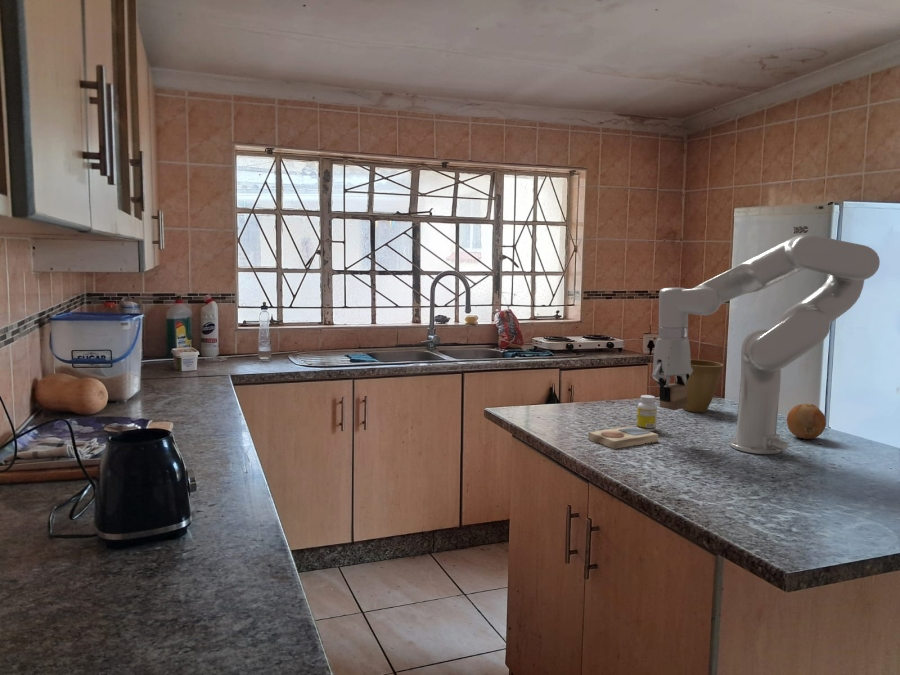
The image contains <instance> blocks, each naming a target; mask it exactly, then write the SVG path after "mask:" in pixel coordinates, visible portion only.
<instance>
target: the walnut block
mask: <svg viewBox="0 0 900 675" xmlns="http://www.w3.org/2000/svg"><path fill="white" fill-rule="evenodd" d="M668 387H670V402H665V401H660V400H659V408H662V409H663V408H664V409H666V410H672V411H677V410H684V409H683V408H687V386H685V385H680V384H675V383H669V386H668Z"/></svg>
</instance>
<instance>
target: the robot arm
mask: <svg viewBox="0 0 900 675" xmlns="http://www.w3.org/2000/svg"><path fill="white" fill-rule="evenodd" d="M880 263H881V261H880V257H879V255H878V253H877V251H875V249H873V248H871V247H870V246H867V245H864V244H859V243H854V242H848V241H843V240H839V239H834V238H830V237H825V236H821V235H817V234H811V233H809V234H799V235H797V236H793V237H791V238H789V239H787V240H784V241H783V242H781V243H779V244H777V245H775V246H773V247H771V248H769V249H767V250H766V251H763V252H761V253H759V254H758V255H755V256H754V257H752V258H751V257H750V259H747V260H745V261H744V262H741V263H740V264H737V265H736V266H734V267H732V268H730V269H729V270H726V271H725V272H722V273H721V274H718V275H716V276H714V277H712V278H710V279H708V280H706V281H704V282H702V283H701V284H698V285H696V286H695V287H693V288H685V287H663V288H661V289H660V290H659V293H658V338H657V339H656V341H655V345H654V352H653V360H652V361H653V363H652V374H651V377H652V379H653V380H654V381H655V383H657V386H658V387H659V402H660V401H665V402H670V387H668V386H669V384H670V382H671V377H674V378H675V381H676V382H675V383H674V384H680V385H686V384H687V380H688V378H689V376H690V375H691V373H692V372H693V369H692V367H691V359H692V358H691V357H692V356H691V355H692V354H691V346H690V340H689V315H697V316H710V315H714V313H715V312H717V311H718V310H719V308H720V307H721V305H722V304H724V303H727V302H729V301H731V300H734V299H736V298H738V297H741V296H743V295H746V294H751V293H757V292H759V291H762V290H766V289H767V288H769V287H771V286H773V285H775V284H777V283H778V282H781V281H783V280H785V279H787V278H789V277H791V276H793V275H795V274H797V273H800V272H802V271H804V270H808V271H813V272H815V273H820V274H823V275H824V274H825V275H827V276H828V277H827V279H826V281H825V282H824V283H823V284H822V285H821V286H820V287H819V288H818V289H816V290H815V291H814V292H812V293H811V294H810V295H808V296H807V297H805V298H803V299H802V300H800V301H799V302H797V303H796V304H794V305H792V306H791V307H789V308H788V309H786V310H785V311H784V313H782V314H781V317H780V319H779V322H778V324H776V325H775V326H773V327H772V328H770V329H756V330H753V331H751V332H750V333H749V334H747V335H746V336H745V337H744V339H743V342H742V344H741V348H740V349H741V350H740V367H741V368H740V381H739V382H740V385H739V392H738V393H739V395H738V406H737V407H738V409H737V421H736V436H735V437H733V438H730V439H729V446H730V447H732V449H734V450H738V451H741V452H745V453H751V454H756V455H757V454H758V455H775V454H779V453H781V452H782V451H783V452H785V451H787V449H788V446H789V442H788V441H785V440H781V439H780V437H781V436H780V435H781V434H779V433H777V428H778V426H777V424H778V417H779V416H778V415H779V402H780V401H779V400H780V391H781V380H782V376H781V372H782V370H781V369H783V368H785V367H787V366H789V365H791V364H792V363H793V362H794V361H797V360H798V359H799V358H801V357H802V356H804V355H805V354H807V353H808V352H809V351H811V350H812V349H814V348H816V347H818V345H820V344H821V343H822V342H824V340H825V339H826V338H827V337H828V335H829V332H830V329H831V323H833V322H834V321H835V320H837V319H838V318H839V317H841V316H842V315H844V314H845V313H846V312H848V311H849V310H850V309H851V308H852V307H853V306H854V305H855V304H856V303H857V301H858V300H859V299H860V297H861V294H862V291H863V288H864V284H865V280H867V279H870V278H871V277H873V276H874V275H875V274H876V273H877V272H878V270H879V268H880V265H881V264H880ZM680 376H681V377H680Z"/></svg>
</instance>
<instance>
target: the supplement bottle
mask: <svg viewBox="0 0 900 675" xmlns="http://www.w3.org/2000/svg"><path fill="white" fill-rule="evenodd" d="M655 401H656V396H654V395H652V394H651V395H650V394H642V395H640V402H639V403H638V404H637V414H636V415H637V416H636V417H637V418H636V419H637V420H636V427H637V428H640V429H643V430H646V431H649V432H653V431H656V430H657V415H658V413H657V412H658V406H657V404H656V403H655Z"/></svg>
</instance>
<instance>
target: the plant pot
mask: <svg viewBox="0 0 900 675" xmlns="http://www.w3.org/2000/svg"><path fill="white" fill-rule="evenodd" d="M691 367H692V369H693V372H692V373H691V375H690V376H689V378H688V380H687V384H686V385H685V386H687V408H683V409H682V410H685V411H687V412H692V413H705V412H707V410H708V408H709V407H710V405H711V403H712V400H713V398H714V396H715V393H716V390H717V388H718V385H719V381H720V379H721V374H722V370H723V367H724V365H723V363H720V362H716V361H711V360H704V359H692V358H691ZM680 377H681V376H680Z"/></svg>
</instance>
